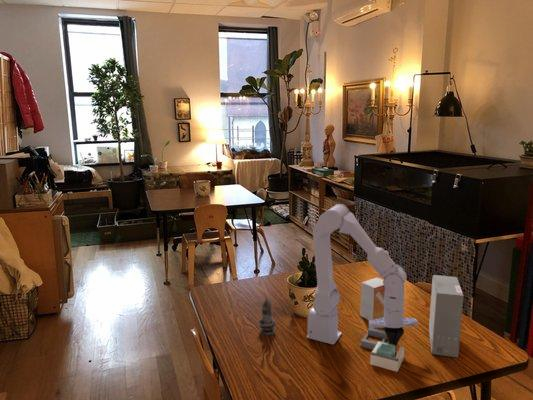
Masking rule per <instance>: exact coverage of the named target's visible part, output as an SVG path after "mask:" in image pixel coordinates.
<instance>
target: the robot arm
mask: <svg viewBox="0 0 533 400" xmlns="http://www.w3.org/2000/svg"><path fill="white" fill-rule="evenodd" d="M338 229H339V230H338ZM336 230H338V233H342V234H348V235H349V236H351V238H352V239H353V240H354V241H355V242H357V244H358V245H359V247H361V248H362V249H363V251H364V252H365V253H366V254H367V257H366V258H367V262H368V263H369V264H370V266H371V267H373V269H374V270H375V271H376V273H377V274H378V275H379V276H380V278H381V279H382V280H384V281H383V284H384V287H385V297H384V317H383V318H379V319H376V320H368V329H369V328H370V329H382V328H383V331H385V333H386V336H387V338H386V340H387V343H388V344H392V345H395V350H396V349H397V345H398V343H399V341H400V339H401V338H402V337H403V335H404V333H405V330H404V328H403V327H414V328H418V326H419V321H418V319H416V318H415V317H413V318H412V317H404V313H405V294H406V293H405V283H406V280H407V278H408V277H407V273H406V271H405V268H404V267H402V266H400V265H399V264H398V263H397V264H396V263H395V261H394V260H393V259H392V258H391V256H390V255H389V254H390V253H389V251H388V250H385V249H384V248H383V247H378V246H376V245H375V243H374V242H373V241H372V239H371V238H370V236H369V235H368V234H367V232H366V231H365V230H364V228H363V227H362V226H361V224H360V223H359V221H358V220H357V218H356V216H355V214H354V213H353V212H351V211H350V210H349V208H348V207H347V206H346V205H345V204H342V203H338V204H335V205H333V206H332V207H331V208H329V209H327V210H326V211H324V212H323V213H322V214H320V215H319V216H318V220H317V222H316V224H315V226H314V228H313V230H312V240H313V249H314V262H315V272H316V283H317V285H316V288H315V291H314V300H313V302H312V303H313V304H312V307H311V309H309V312H308V315H307V335H306V339H310V340H314V341H318V342H320V343H321V342H322V343H324V344H325V343H326V344H329V345H335V344H336V342H337V341H338V340H339V338H340V337H341V336H342V334H343V332H342V331H339V329H338V328H339V323H338V322H339V308H338V306H337V305H338V304H339V302H340V301H341V294H340V292H339V290H338V287H337V284H336V282H334V281H335V280H334V272H333V271H334V270H333V258H332V248H331V245H332V244H331V234H332V233H333V232H334V231H336Z"/></svg>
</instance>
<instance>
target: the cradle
mask: <svg viewBox="0 0 533 400" xmlns="http://www.w3.org/2000/svg"><path fill="white" fill-rule="evenodd" d="M369 336H371V337H375V338H378V339H381V342H385V341H386V340H387V336H386V333H385V331H384V330H382V329H379V328H374V329H370V328H369V327H368V329H367V332H366V334H365V335H364V337H362V338H361V340H360V343H359V347H362V348H365V349H369V350H372V351H373V350H374V348H375V346H376V344H377V343H378V341H375V340H371V339H367V338H368V337H369ZM385 343H386V342H385Z"/></svg>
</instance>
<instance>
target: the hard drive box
mask: <svg viewBox="0 0 533 400" xmlns="http://www.w3.org/2000/svg"><path fill="white" fill-rule="evenodd" d="M431 279H432V280H431V281H432V282H431V295H430V296H431V297H430V306H429V307H430V309H429V322H428V323H429V325H428V332H429V333H428V334H429V342H430V349H431V350H430V351H431V352H430V353H431V354H433V355H435V356H443V357H444V356H446V357H450V358H459V352H460V341H461V329H462V328H461V327H462V318H463V306H464V305H463V304H464V298H465V297H464V294H463V289H462V287H461V285H460V282H459V279H458V277H456V276H449V275H440V274H439V275H438V274H437V275H436V274H433V275H432V278H431Z"/></svg>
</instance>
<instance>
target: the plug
mask: <svg viewBox="0 0 533 400" xmlns="http://www.w3.org/2000/svg"><path fill="white" fill-rule="evenodd" d="M380 342H381V344H380V346H379V347H378V349H377V353H378V354H382V355H386V356H390V357H394V358H395V357H396V349H395V345H392V344H388V342H382V341H380Z"/></svg>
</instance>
